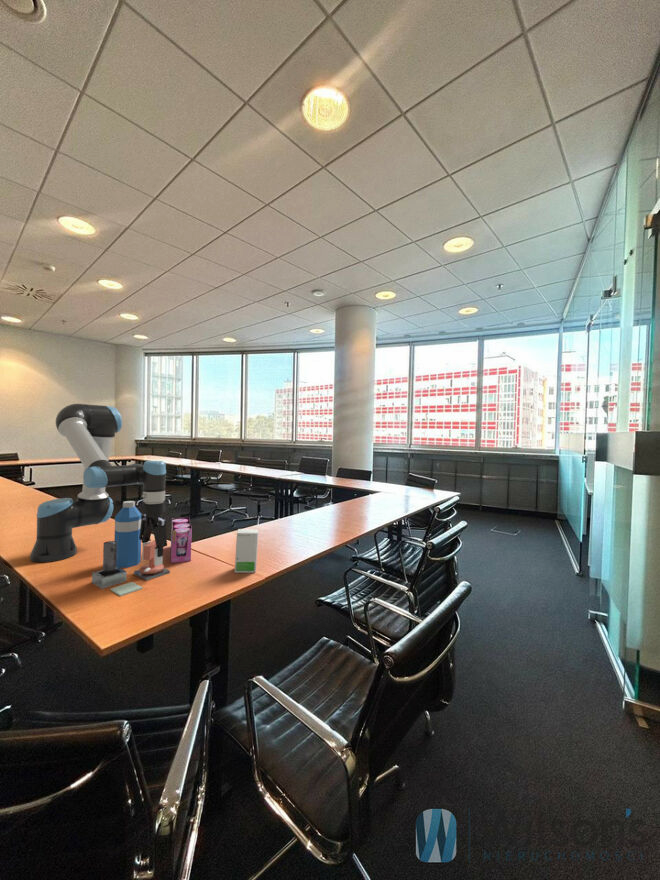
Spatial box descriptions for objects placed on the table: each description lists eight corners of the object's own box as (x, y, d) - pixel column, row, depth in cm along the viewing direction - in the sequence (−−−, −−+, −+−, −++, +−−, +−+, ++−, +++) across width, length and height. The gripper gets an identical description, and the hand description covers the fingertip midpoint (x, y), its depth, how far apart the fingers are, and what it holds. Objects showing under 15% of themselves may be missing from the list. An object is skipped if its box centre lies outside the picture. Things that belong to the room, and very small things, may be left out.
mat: (110, 590, 115) (110, 588, 115) (132, 583, 121) (132, 581, 121) (120, 596, 111) (120, 594, 111) (142, 588, 117) (142, 587, 117)
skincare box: (234, 573, 133) (235, 533, 132) (236, 566, 139) (237, 528, 139) (256, 572, 134) (257, 532, 134) (257, 566, 140) (258, 528, 140)
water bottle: (128, 569, 133) (130, 504, 133) (107, 566, 135) (109, 503, 135) (145, 560, 142) (147, 500, 142) (126, 558, 144) (128, 499, 144)
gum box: (191, 562, 143) (192, 529, 142) (170, 564, 139) (171, 531, 139) (188, 544, 164) (189, 516, 164) (170, 546, 161) (171, 517, 161)
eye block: (91, 582, 120) (92, 572, 120) (116, 575, 127) (116, 566, 127) (101, 589, 116) (101, 578, 116) (126, 581, 122) (126, 571, 122)
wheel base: (133, 574, 129) (133, 570, 129) (157, 567, 136) (157, 563, 136) (145, 580, 123) (146, 577, 123) (169, 572, 131) (169, 569, 131)
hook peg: (100, 582, 121) (101, 542, 121) (112, 578, 124) (113, 540, 124) (107, 586, 118) (108, 546, 117) (120, 583, 121) (121, 543, 121)
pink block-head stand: (147, 565, 134) (147, 539, 134) (167, 566, 134) (168, 540, 134) (134, 574, 125) (135, 546, 125) (156, 574, 125) (157, 547, 125)
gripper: (129, 499, 132) (128, 558, 133) (159, 507, 120) (157, 572, 121) (149, 497, 138) (147, 553, 139) (179, 504, 127) (177, 565, 127)
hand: (152, 562), depth 130 cm, fingers open, 8 cm apart
